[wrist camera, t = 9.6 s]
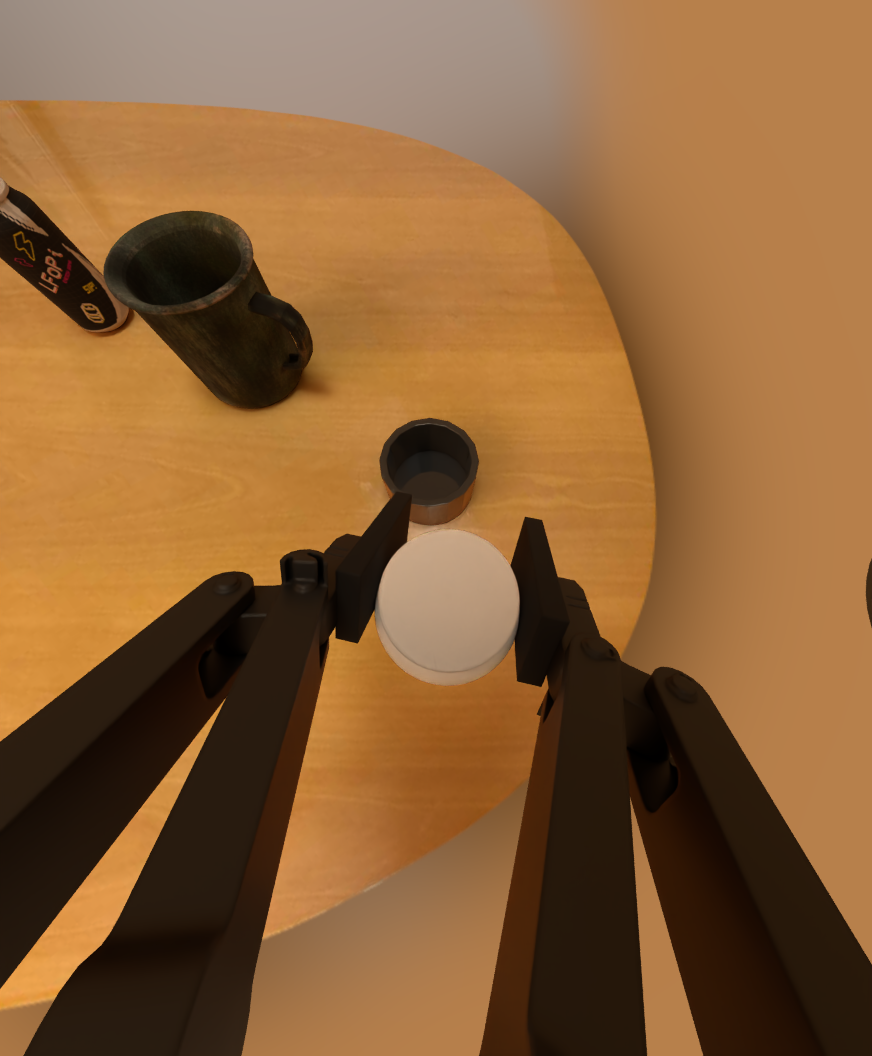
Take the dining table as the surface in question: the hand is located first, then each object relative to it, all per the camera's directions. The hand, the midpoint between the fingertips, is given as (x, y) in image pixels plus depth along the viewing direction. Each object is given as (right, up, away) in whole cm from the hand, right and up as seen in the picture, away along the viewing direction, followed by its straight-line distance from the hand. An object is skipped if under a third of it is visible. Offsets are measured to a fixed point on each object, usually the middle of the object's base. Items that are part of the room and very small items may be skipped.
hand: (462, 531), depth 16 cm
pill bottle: (-1, -5, +2) cm, 5 cm away
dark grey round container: (-2, +4, +17) cm, 18 cm away
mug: (-19, +17, +21) cm, 33 cm away
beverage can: (-40, +25, +24) cm, 53 cm away
